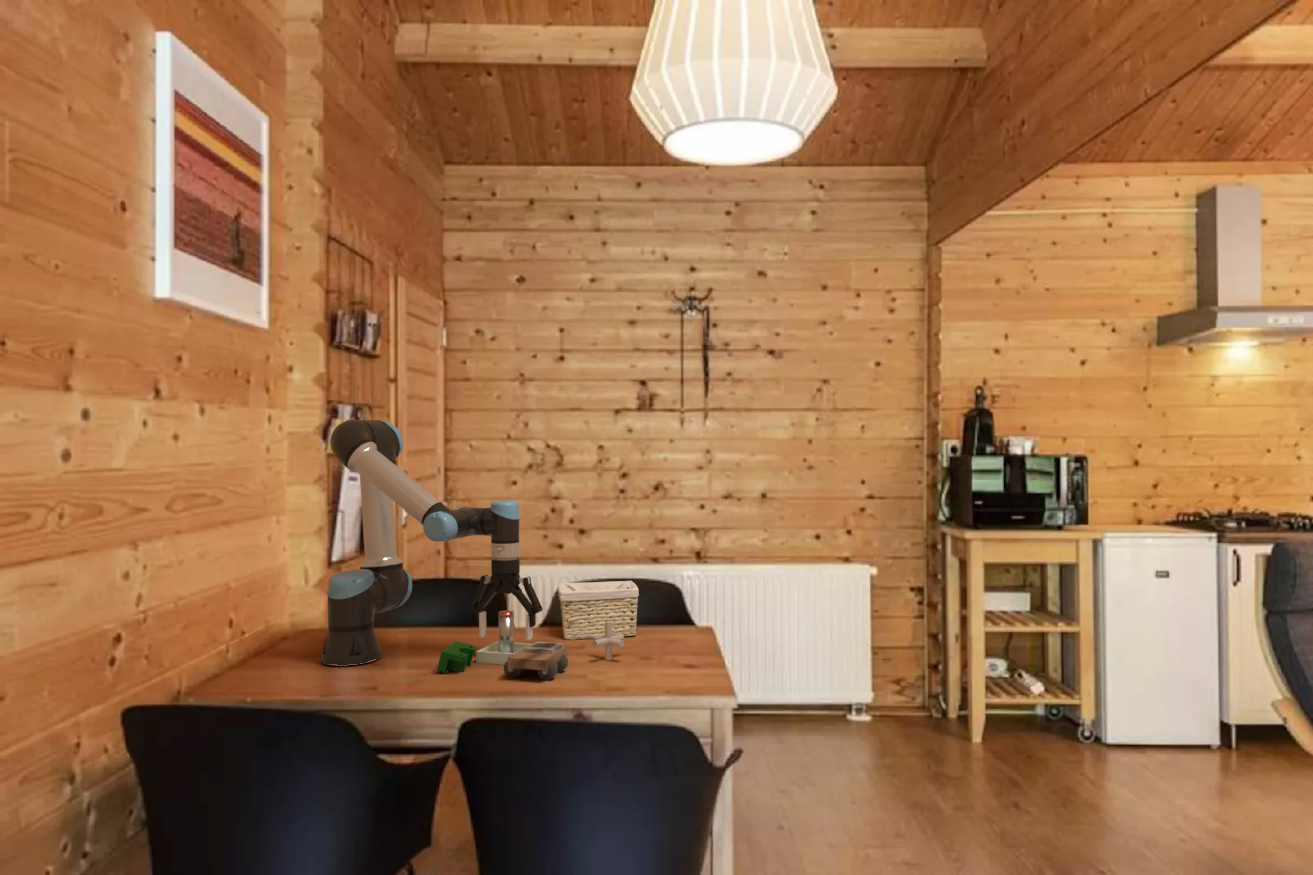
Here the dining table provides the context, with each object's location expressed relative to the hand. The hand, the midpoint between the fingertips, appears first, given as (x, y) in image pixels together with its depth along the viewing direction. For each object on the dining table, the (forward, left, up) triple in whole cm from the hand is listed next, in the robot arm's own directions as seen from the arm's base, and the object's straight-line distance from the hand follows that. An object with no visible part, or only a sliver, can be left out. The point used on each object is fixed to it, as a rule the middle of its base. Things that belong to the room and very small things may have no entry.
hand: (505, 637), depth 231 cm
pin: (0, 0, -5) cm, 5 cm away
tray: (0, 0, -6) cm, 6 cm away
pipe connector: (+27, +6, -6) cm, 28 cm away
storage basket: (+14, +35, -6) cm, 38 cm away
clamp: (-8, -12, -6) cm, 16 cm away
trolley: (+14, -12, -6) cm, 20 cm away
